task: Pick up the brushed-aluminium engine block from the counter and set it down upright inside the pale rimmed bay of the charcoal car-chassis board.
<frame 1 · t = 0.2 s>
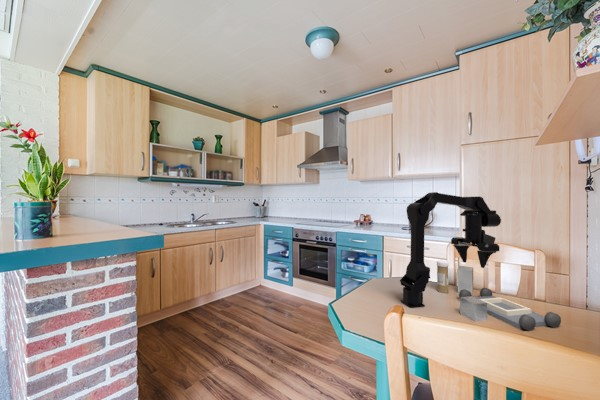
hand: (473, 264, 104), 14 cm above the table, tool pointing down, fingers open, 9 cm apart
sprinkles bottle: (442, 291, 114), on the table
small box: (465, 291, 114), on the table
engine block: (473, 317, 89), on the table
chassis: (503, 312, 92), on the table
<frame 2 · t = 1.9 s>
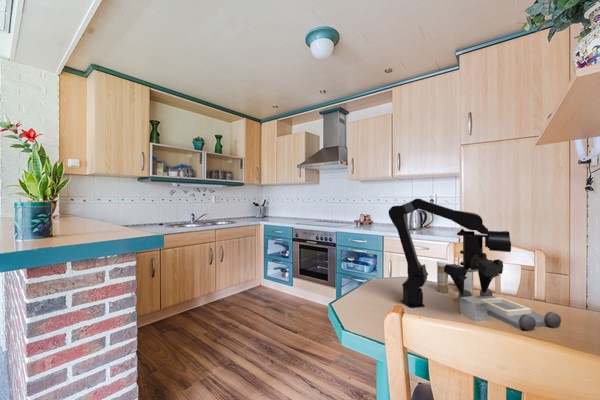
hand: (472, 293, 89), 8 cm above the table, tool pointing down, fingers open, 9 cm apart
nothing on the table moved.
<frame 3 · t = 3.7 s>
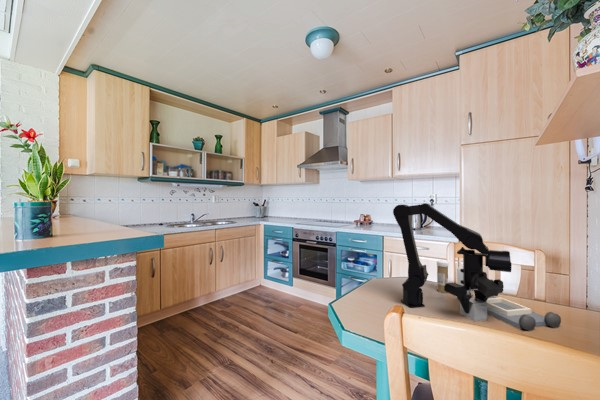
hand: (473, 312, 89), 2 cm above the table, tool pointing down, fingers closed on engine block, 5 cm apart
engine block: (473, 316, 89), on the table, touching gripper
everything else where it was.
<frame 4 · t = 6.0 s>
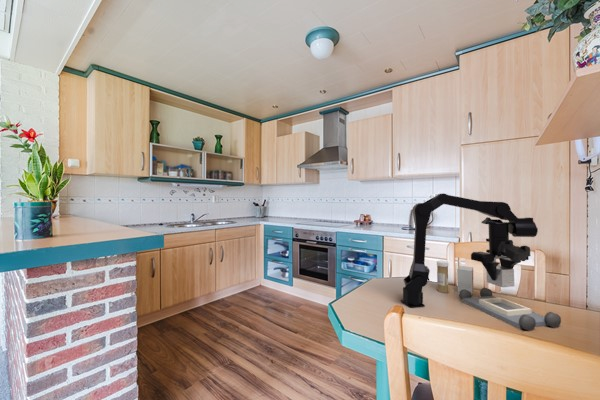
hand: (500, 279, 91), 12 cm above the table, tool pointing down, fingers closed on engine block, 5 cm apart
engine block: (500, 284, 91), point 11 cm above the table, touching gripper
everything else where it was.
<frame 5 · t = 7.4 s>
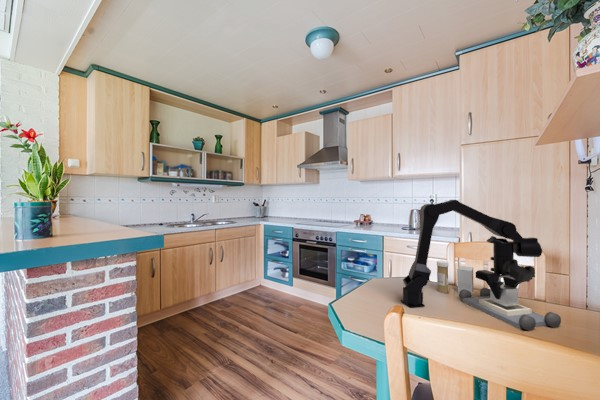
hand: (503, 298, 92), 5 cm above the table, tool pointing down, fingers closed on engine block, 5 cm apart
engine block: (503, 302, 92), point 3 cm above the table, touching gripper
everything else where it was.
when the fingers open (4 cm above the table, at t = 8.3 s): engine block drops 1 cm, resting on chassis.
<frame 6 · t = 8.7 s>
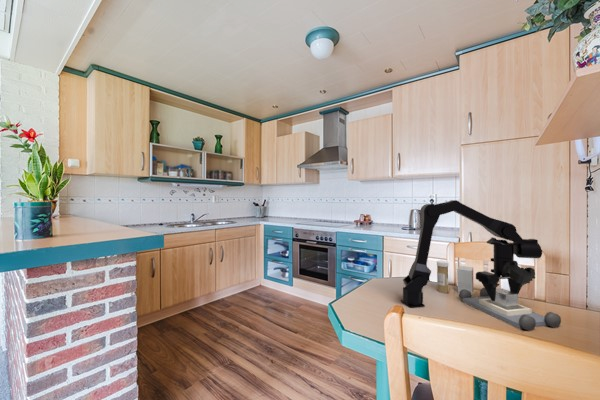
hand: (503, 299, 92), 4 cm above the table, tool pointing down, fingers open, 9 cm apart
engine block: (503, 308, 92), point 1 cm above the table, touching chassis
everything else where it was.
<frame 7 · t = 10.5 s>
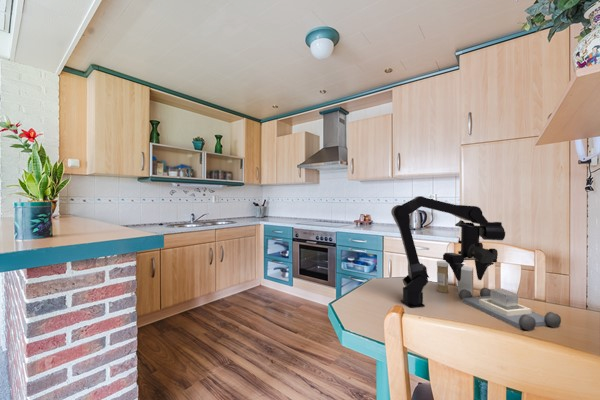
hand: (469, 280, 96), 11 cm above the table, tool pointing down, fingers open, 9 cm apart
nothing on the table moved.
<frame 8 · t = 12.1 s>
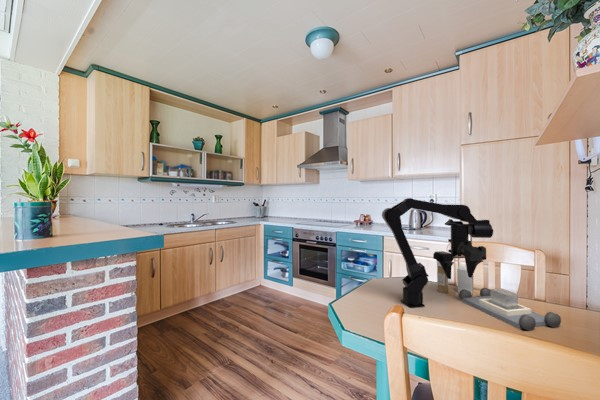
hand: (459, 278, 97), 11 cm above the table, tool pointing down, fingers open, 9 cm apart
nothing on the table moved.
at the end: engine block 0.1 cm off-centre on the chassis, point 1.5 cm above the chassis's base; engine block tilted 0°; the gripper is holding nothing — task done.
